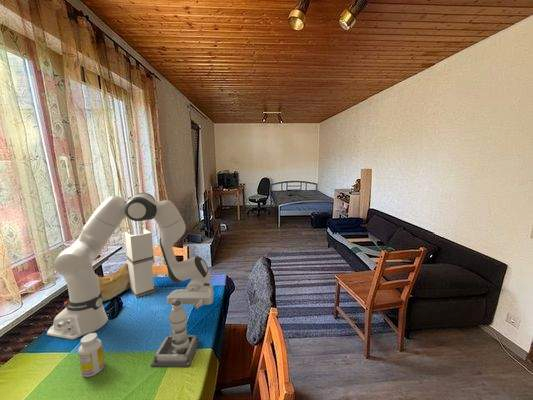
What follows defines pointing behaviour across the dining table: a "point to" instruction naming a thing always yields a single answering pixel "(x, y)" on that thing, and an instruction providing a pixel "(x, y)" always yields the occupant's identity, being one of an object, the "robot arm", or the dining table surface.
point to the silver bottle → (179, 328)
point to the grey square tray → (171, 359)
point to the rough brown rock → (114, 283)
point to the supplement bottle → (91, 355)
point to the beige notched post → (140, 263)
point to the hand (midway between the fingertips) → (184, 307)
